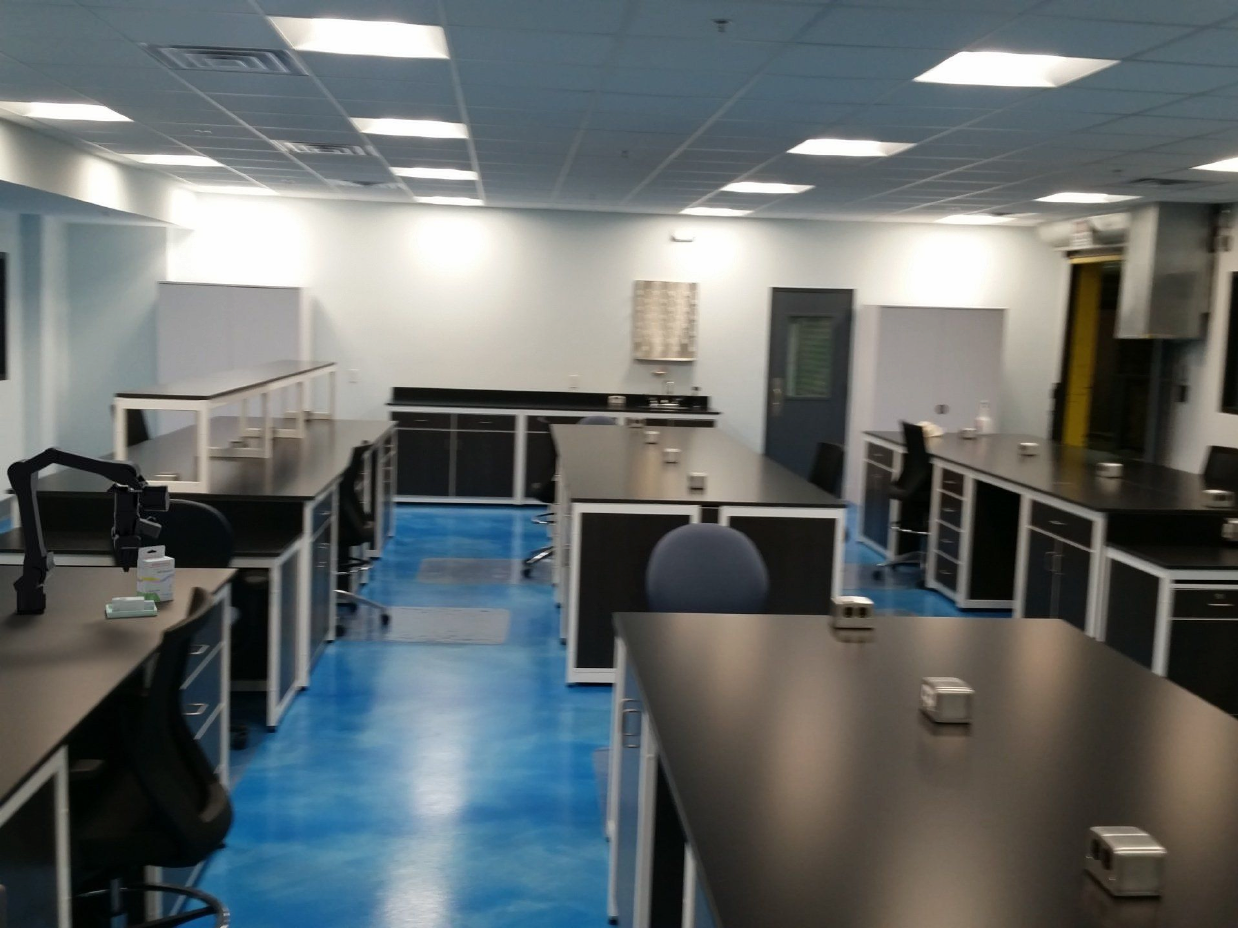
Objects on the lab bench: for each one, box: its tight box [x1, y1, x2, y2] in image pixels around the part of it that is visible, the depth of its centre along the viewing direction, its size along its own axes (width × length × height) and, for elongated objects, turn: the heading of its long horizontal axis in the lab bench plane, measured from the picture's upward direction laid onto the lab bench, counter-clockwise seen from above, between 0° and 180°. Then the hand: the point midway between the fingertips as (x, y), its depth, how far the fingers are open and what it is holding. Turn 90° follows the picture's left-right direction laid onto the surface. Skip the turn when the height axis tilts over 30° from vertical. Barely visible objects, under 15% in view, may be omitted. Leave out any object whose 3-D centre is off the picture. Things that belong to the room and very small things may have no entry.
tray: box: [105, 602, 158, 619], centre depth 312 cm, size 12×9×1 cm
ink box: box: [136, 545, 175, 603], centre depth 326 cm, size 9×5×15 cm, turn 143°
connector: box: [111, 596, 155, 612], centre depth 311 cm, size 10×4×3 cm, turn 116°
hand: (125, 568), depth 311 cm, fingers open, 9 cm apart
